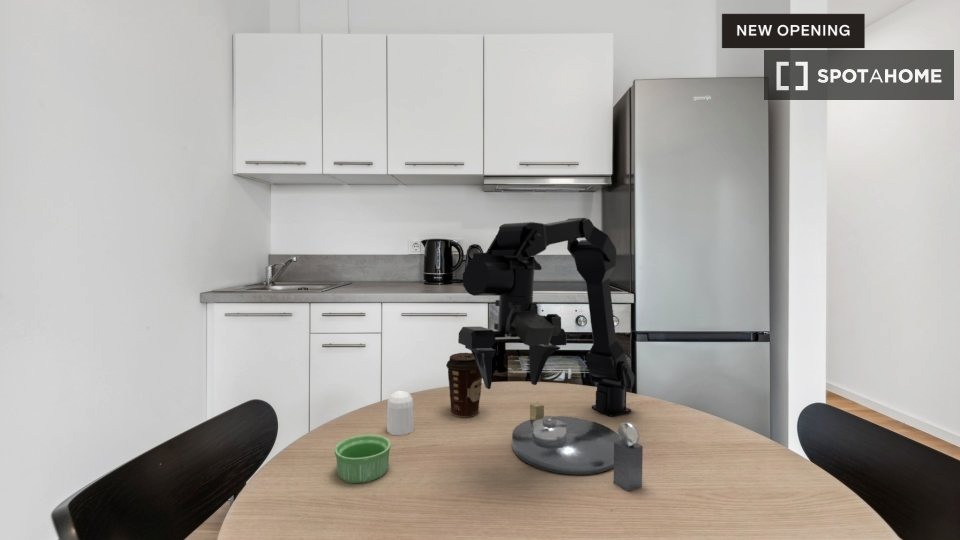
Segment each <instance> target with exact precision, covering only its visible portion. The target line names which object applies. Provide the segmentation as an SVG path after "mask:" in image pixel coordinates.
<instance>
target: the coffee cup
mask: <svg viewBox="0 0 960 540" xmlns="http://www.w3.org/2000/svg"><path fill="white" fill-rule="evenodd" d="M445 365H446V368H447V376H448V378H447V379H448V388H449V389H448V390H449V399H450V414H451V416H454V417H456V418H457V417H458V418H470V417H474V416H476V415H478V414H479V411H480V399H481V393H482V383H483V379H482V376H481V373H480V370H479V367H478V365H477V362H476V360H475V358H474V356H473V354H472V352H458V353H454V354H451V355H449V360H448V361H447V362H446V364H445Z"/></svg>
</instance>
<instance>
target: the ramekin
mask: <svg viewBox="0 0 960 540" xmlns="http://www.w3.org/2000/svg"><path fill="white" fill-rule="evenodd" d="M391 446H392V443H391V440H389V439H388V438H387V437H385V436H383V435H377V434H362V435H356V436H351V437H348V438H345V439H343V440H341V441H340V442H339V443H337V444H336V445H335V447H334V455H335V457H336V458H335V460H336V467H337V470H336V471H337V474H338V476H339V478H340V479H341V480H343V481H344V482H348V483H350V484H351V483H353V484H362V483H368V482H372V481H374V480H377V479H379V478H381V477H383V476H384V475H385V474H386V473H387V471H388V469H389V459H390V450H391Z"/></svg>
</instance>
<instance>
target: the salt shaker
mask: <svg viewBox="0 0 960 540" xmlns="http://www.w3.org/2000/svg"><path fill="white" fill-rule="evenodd" d="M386 403H387V405H386V408H387V409H386V410H387V412H386V414H387V417H386V418H387V419H386V421H387V426H386V427H387V429H386V430H387V433H388V432H389V433H390V434H389V433H388V434H389V435H392V436H406V435H409V434H411V433H413V432H414V430H415V428H414V427H415V423H414V422H415V420H414V419H415V417H414V416H415V415H414V413H415V412H414V399H413V396H412V395H411V394H410V393H409V392H407V391H406V390H405V391H404V390H397V391H395V392H393V393H392V394H391V395H390V396H389V397H388V400H387V402H386ZM410 432H411V433H410ZM408 433H409V434H408ZM405 434H406V435H405Z"/></svg>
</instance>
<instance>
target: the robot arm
mask: <svg viewBox="0 0 960 540" xmlns="http://www.w3.org/2000/svg"><path fill="white" fill-rule="evenodd" d="M498 229H499V230H498V231H497V234H496V235H495V236H494V238H493V240H492V241H491V244H490V245H489V246H488V249H487V250H486V252H473V253H472V260H471V261H469V262H468V263H467V265H466V266H465V268H464V270H463V273H462V283H463V287H464V289H465V291H466V292H467V293H468V294H469V295H471V296H475V297H477V296H478V297H481V296H483V297H484V296H485V297H487V296H492V297H494V296H499V297H498V299H495V301H494V302H495V307H498V317H497V318H498V319H497V320H498V321H497V322H498V323H496V322H495V323H494V326H493V329H494V330H493V329H491V328H487V327H483V326H462V327H461V329H460V330H459V332H458V339H457V341H458V344H460V345H462V346H464V348H465V349H466V350H469V351H471V352H470V353H472V354H473V356H474V358H475V360H476V362H477V365H478V367H479V370H480V373H481V376H482V382H483V384H484V387H485V389H487V390H491V387H492V381H493V376H492V375H493V358H494V356H495V353H496V352H497V350H496V349H494V348H493V346H494V345H495V344H496V343H508V342H509V343H510V342H512V343H513V342H522V344H524V345H525V346H528V349H529V350H528V351H529V376H530V382H531V385H533V386H537V384H538V383H539V380H540V377H541V374H542V372H543V370H544V368H545V365H546V364H547V362H548V359H549V357H550V356H551V355H552V354H553V353H554V352H555V351H559V350H561V347H560V346H566V345H567V340H568V339H567V338H568V335H567V333H566V331H565V329H564V328H562V317H561V316H560V315H559V314H557V313H547V314H546V315H540V314H539V311H538V310H539V309H538V303H537V302H533V299H534V298H533V297H534V281H535V279H534V278H535V271H541V270H542V265H541V264H540V263H539V262H538V261H537V260H536V258H535V256H537V255H539V254H541V253H542V252H545V250H547V247H548V246H550V245H555V244H558V243H559V244H560V243H562V242H567V244H566V246H567V248H566V249H567V251H568V253H569V254H570V255H571V256H572V258H573V259H574V263H575V268H576V271H577V272H578V274H579V275H580V276H581V277H582V279H583V280H584V282H585V287H586V293H587V294H586V295H587V301H588V309H589V311H588V312H589V318H590V324H591V325H590V326H591V333H592V346H591V347H590V349H589V351H588V352H586V354H585V359H586V370H587V371H588V376H589V381H590V382H591V383H595V384H596V390H595V404H594V405H591V409H594V410H596V411H597V412H600V413H602V414H605V415H607V416H609V417H616V416H619V415H625V414H628V413H632V408H630V407H627V390H629V389H633V387H634V385H635V380H636V379H635V378H636V376H635V374H634V372H633V370H632V368H631V367H630V365H629V364H628V361H627V356H626V355H627V354H626V352H625V350H624V349H623V348H622V346H621V345H620V344H619V343H618V341H617V336H616V335H617V334H616V328H615V326H616V325H615V319H614V318H615V317H614V309H613V302H612V291H611V284H610V277H611V276H612V274H613V272H614V270H615V268H616V262H617V261H616V258H617V249H616V245H615V244H614V243H613V242H612V240H611V238H610V236H609V235H608V234H606V233H605V232H603V231H602V230H601V229H600V228H598V227H597V226H595V225H594V223H593V222H592V221H591V220H590V219H589V218H586V217H577V218H576V217H574V218H568V219H565V220H560V221H555V222H549V223H541V222H533V221H532V222H531V221H529V222H515V223H513V222H512V223H511V222H510V223H503V224H501V225H500V226H499V227H498ZM578 239H582V240H578Z"/></svg>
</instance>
